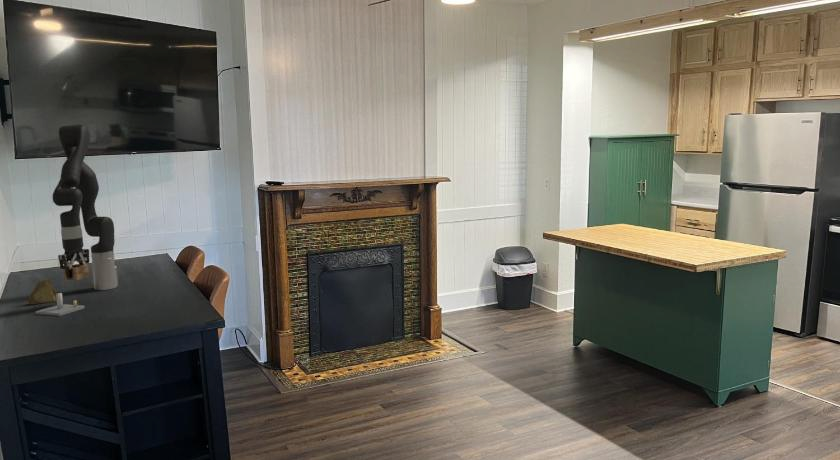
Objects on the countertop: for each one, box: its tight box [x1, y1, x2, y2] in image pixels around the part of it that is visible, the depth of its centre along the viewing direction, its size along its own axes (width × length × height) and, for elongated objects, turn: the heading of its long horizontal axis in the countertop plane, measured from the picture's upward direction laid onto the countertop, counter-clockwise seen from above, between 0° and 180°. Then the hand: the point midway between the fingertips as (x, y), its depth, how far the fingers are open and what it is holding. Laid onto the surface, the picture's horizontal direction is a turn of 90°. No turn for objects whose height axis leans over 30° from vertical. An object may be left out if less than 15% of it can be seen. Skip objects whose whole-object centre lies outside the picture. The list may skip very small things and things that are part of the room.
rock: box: [27, 279, 58, 305], centre depth 264 cm, size 11×9×10 cm
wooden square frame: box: [62, 264, 90, 281], centre depth 260 cm, size 6×6×5 cm
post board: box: [35, 292, 85, 317], centre depth 248 cm, size 12×12×7 cm
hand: (76, 276), depth 260 cm, fingers closed on wooden square frame, 6 cm apart
